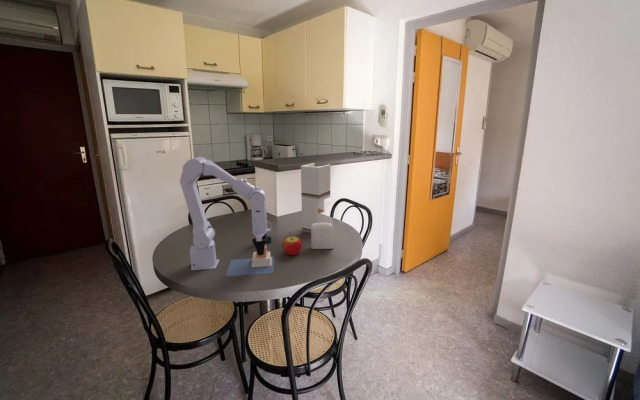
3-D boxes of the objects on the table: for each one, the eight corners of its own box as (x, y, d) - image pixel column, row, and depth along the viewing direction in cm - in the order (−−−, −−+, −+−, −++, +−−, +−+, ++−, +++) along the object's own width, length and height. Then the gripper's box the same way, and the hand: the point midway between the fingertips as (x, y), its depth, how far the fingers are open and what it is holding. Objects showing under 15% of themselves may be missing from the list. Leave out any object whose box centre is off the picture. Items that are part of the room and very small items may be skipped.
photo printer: (311, 249, 138) (310, 224, 135) (311, 245, 142) (311, 221, 139) (333, 249, 138) (333, 224, 135) (333, 245, 142) (333, 221, 139)
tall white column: (319, 234, 156) (318, 167, 147) (302, 231, 161) (300, 165, 152) (330, 228, 165) (330, 164, 156) (313, 224, 170) (313, 163, 161)
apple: (292, 248, 139) (291, 228, 137) (306, 253, 134) (305, 232, 131) (279, 254, 133) (278, 233, 130) (292, 260, 128) (292, 238, 125)
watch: (254, 242, 146) (252, 221, 143) (269, 238, 151) (268, 217, 148) (259, 246, 142) (258, 224, 139) (274, 242, 147) (273, 220, 144)
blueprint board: (225, 277, 114) (225, 276, 114) (231, 260, 127) (231, 259, 127) (273, 274, 116) (273, 272, 116) (274, 258, 130) (274, 256, 130)
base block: (252, 266, 121) (252, 259, 121) (254, 258, 128) (253, 252, 127) (270, 265, 122) (269, 258, 121) (270, 257, 129) (270, 251, 128)
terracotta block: (256, 257, 122) (255, 248, 121) (257, 253, 126) (256, 244, 125) (266, 257, 123) (265, 248, 122) (266, 253, 126) (266, 244, 125)
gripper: (268, 225, 114) (270, 258, 117) (270, 213, 128) (271, 243, 131) (249, 226, 113) (252, 259, 116) (253, 214, 127) (255, 244, 130)
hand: (261, 250), depth 124 cm, fingers open, 7 cm apart
